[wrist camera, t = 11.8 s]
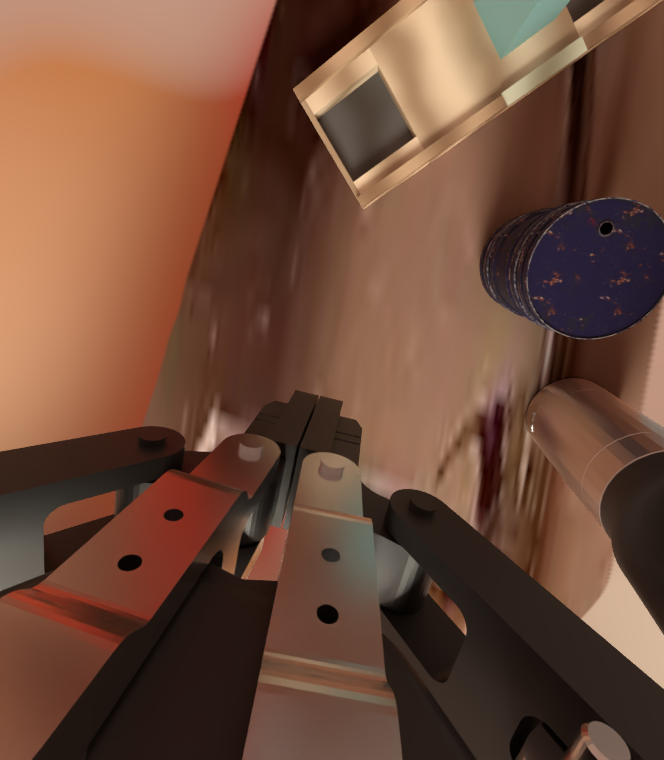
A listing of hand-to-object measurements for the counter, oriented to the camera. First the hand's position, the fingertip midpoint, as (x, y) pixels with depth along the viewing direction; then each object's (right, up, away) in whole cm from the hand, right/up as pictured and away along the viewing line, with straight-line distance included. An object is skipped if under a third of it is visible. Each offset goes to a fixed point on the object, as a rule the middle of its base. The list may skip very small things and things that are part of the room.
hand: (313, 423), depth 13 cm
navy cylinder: (+21, +13, +30) cm, 39 cm away
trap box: (+13, +31, +25) cm, 42 cm away
